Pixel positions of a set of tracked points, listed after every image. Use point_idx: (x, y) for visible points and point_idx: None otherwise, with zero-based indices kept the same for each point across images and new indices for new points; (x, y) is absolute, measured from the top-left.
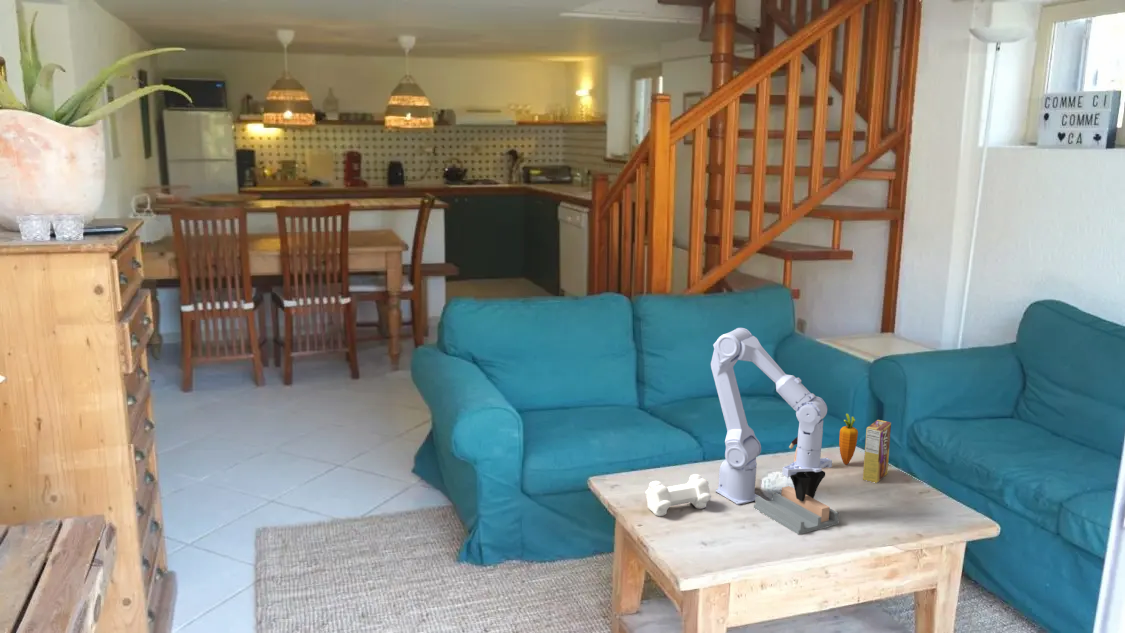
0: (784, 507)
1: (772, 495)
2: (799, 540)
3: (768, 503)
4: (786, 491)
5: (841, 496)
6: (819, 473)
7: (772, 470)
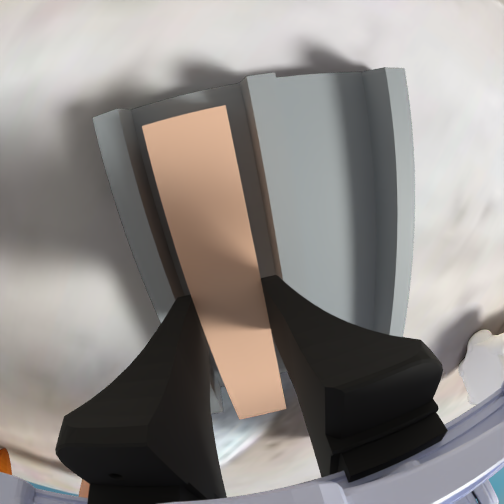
0: None
1: None
2: (397, 34)
3: (404, 305)
4: (281, 384)
5: (16, 353)
6: (136, 460)
7: None
